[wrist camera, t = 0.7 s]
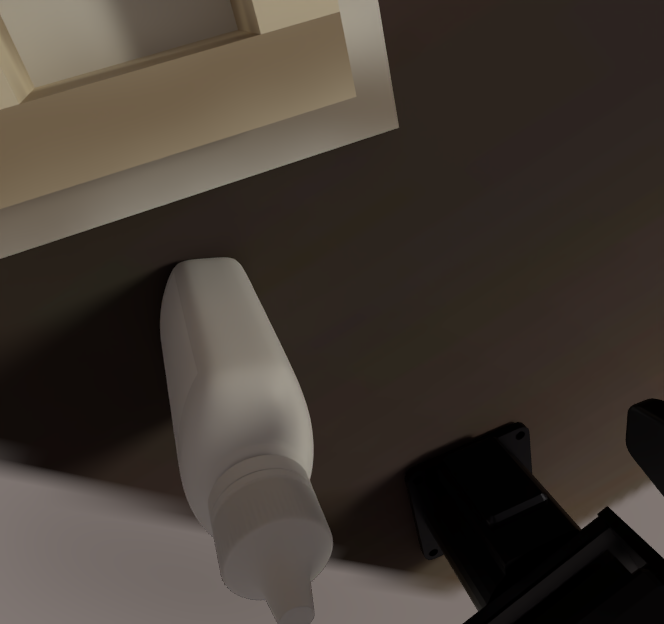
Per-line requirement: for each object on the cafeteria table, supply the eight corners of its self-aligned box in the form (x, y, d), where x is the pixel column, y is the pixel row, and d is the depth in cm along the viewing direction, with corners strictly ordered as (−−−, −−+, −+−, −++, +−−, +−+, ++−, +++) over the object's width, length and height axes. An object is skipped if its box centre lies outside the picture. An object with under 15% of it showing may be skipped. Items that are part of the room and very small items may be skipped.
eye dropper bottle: (117, 370, 21) (121, 716, 11) (186, 233, 19) (267, 482, 9) (227, 403, 23) (317, 718, 13) (297, 282, 21) (461, 528, 11)
